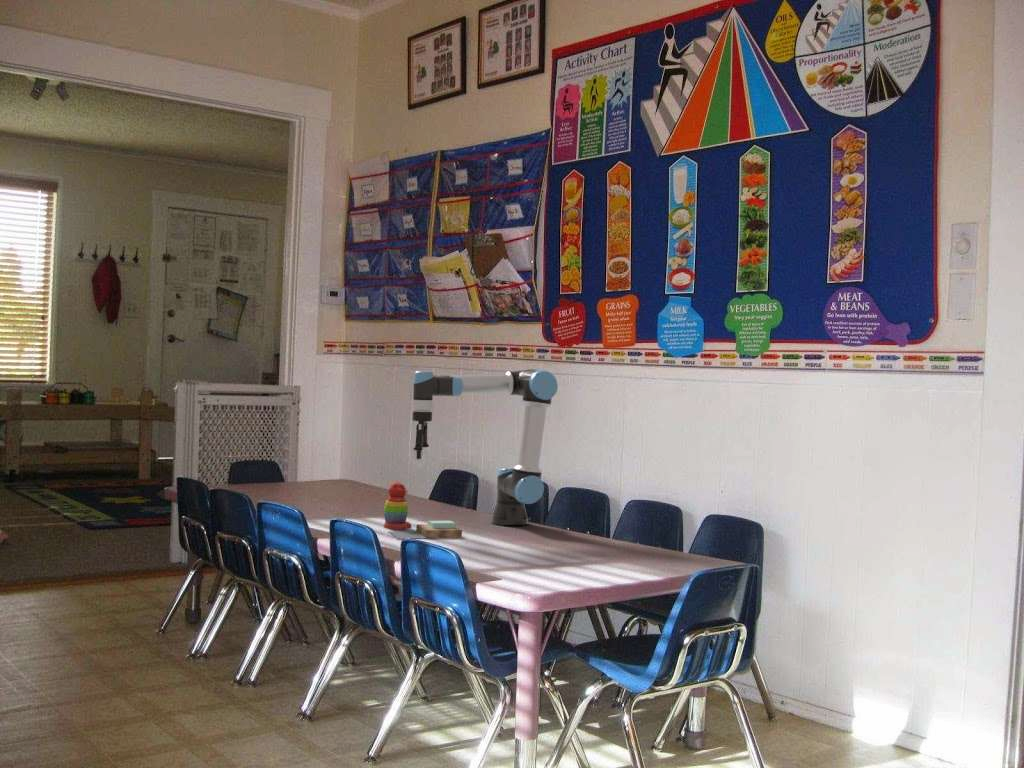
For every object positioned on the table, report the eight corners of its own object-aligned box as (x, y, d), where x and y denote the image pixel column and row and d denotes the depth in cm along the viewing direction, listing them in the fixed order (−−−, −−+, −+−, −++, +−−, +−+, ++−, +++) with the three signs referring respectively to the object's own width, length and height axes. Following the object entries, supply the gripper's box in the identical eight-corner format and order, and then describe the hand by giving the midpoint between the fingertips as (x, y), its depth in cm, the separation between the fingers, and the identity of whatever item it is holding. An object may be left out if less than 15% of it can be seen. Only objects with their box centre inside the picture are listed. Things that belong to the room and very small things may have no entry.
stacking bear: (404, 530, 429) (406, 484, 429) (379, 528, 431) (381, 483, 431) (412, 526, 440) (414, 481, 439) (388, 524, 442) (389, 480, 441)
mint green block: (450, 525, 426) (450, 520, 426) (455, 528, 421) (455, 523, 421) (428, 526, 423) (428, 520, 423) (432, 528, 417) (432, 523, 417)
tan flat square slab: (450, 531, 431) (451, 524, 430) (461, 537, 417) (462, 529, 417) (416, 532, 426) (416, 524, 426) (426, 538, 413) (426, 530, 413)
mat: (415, 531, 427) (415, 531, 427) (426, 538, 412) (426, 538, 412) (387, 532, 423) (387, 531, 423) (398, 539, 408) (398, 538, 408)
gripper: (416, 408, 439) (414, 461, 440) (408, 412, 415) (406, 468, 415) (435, 409, 439) (433, 462, 440) (428, 413, 414) (426, 469, 415)
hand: (420, 465), depth 427 cm, fingers open, 13 cm apart
